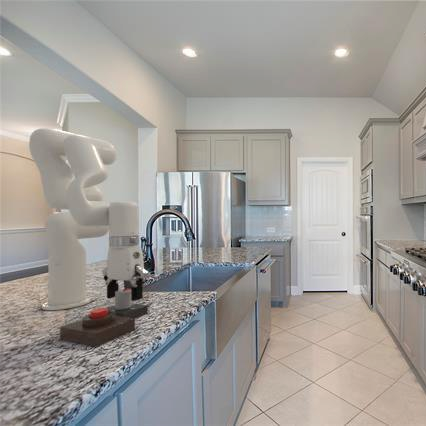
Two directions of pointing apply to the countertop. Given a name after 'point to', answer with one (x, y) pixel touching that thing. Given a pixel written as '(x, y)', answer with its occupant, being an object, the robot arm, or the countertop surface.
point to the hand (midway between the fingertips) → (124, 298)
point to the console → (130, 310)
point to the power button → (99, 313)
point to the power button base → (97, 329)
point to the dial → (123, 299)
